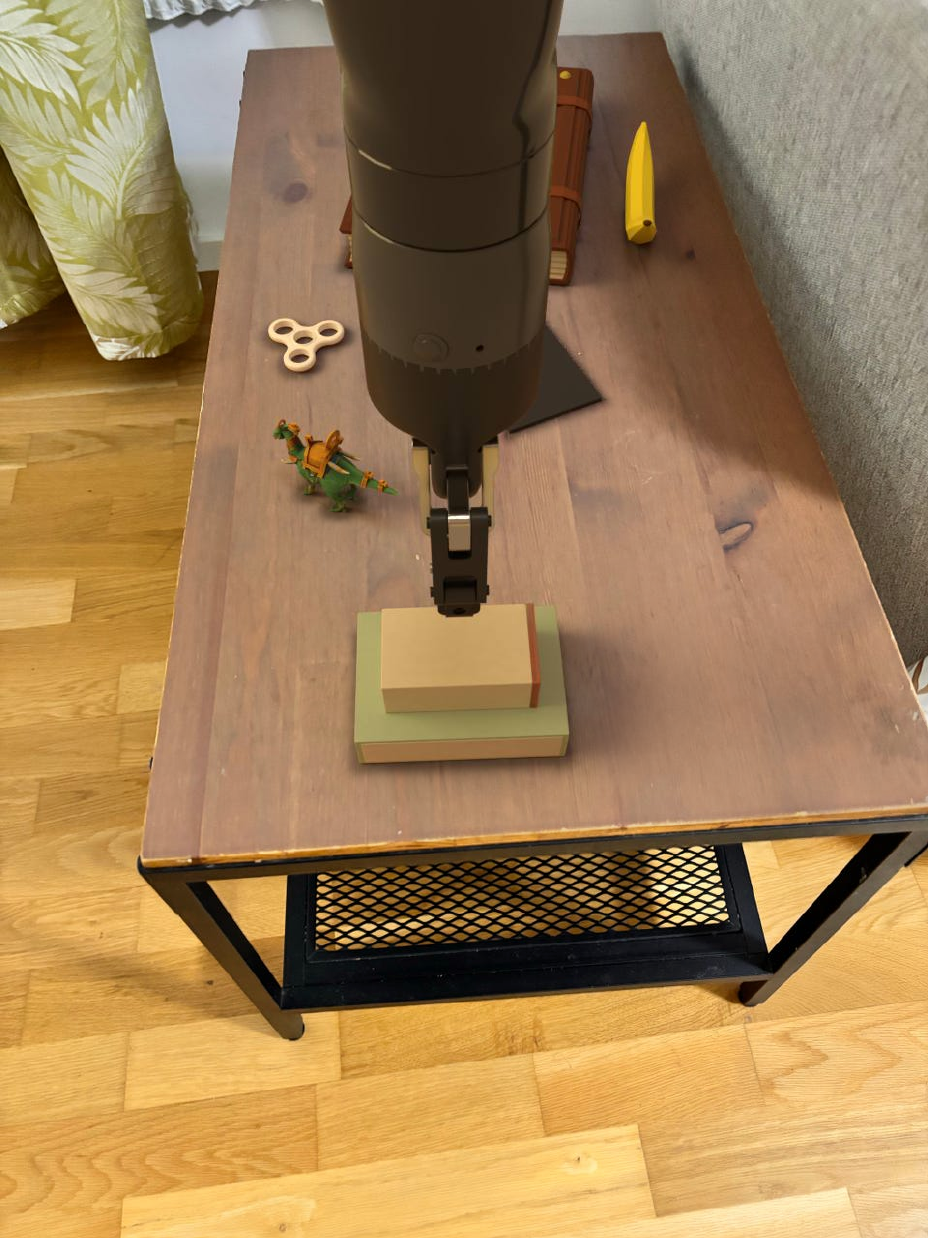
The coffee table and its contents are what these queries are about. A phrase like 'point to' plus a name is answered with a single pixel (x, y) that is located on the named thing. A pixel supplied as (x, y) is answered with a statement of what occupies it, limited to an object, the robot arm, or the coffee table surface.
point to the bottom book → (459, 711)
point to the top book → (459, 659)
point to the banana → (640, 190)
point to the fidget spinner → (304, 331)
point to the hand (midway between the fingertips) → (455, 543)
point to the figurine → (327, 465)
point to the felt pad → (557, 386)
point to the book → (556, 170)
